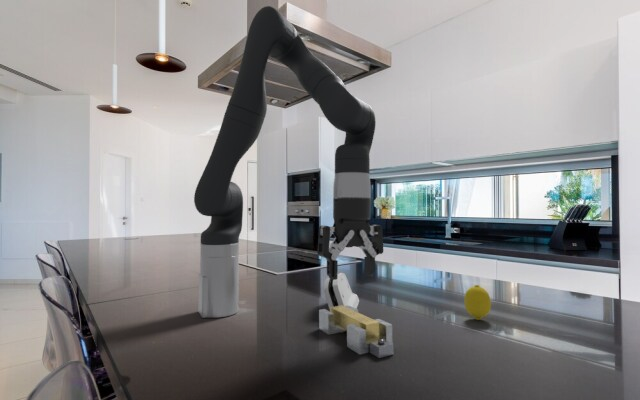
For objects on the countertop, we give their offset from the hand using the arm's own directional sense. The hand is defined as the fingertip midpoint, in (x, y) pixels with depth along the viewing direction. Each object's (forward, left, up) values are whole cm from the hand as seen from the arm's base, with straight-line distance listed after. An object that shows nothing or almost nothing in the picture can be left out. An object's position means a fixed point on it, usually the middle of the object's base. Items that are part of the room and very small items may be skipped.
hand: (351, 277), depth 68 cm
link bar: (0, 0, -10) cm, 10 cm away
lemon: (+31, -5, -12) cm, 34 cm away
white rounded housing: (+9, +18, -12) cm, 24 cm away
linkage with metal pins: (0, 0, -12) cm, 12 cm away
